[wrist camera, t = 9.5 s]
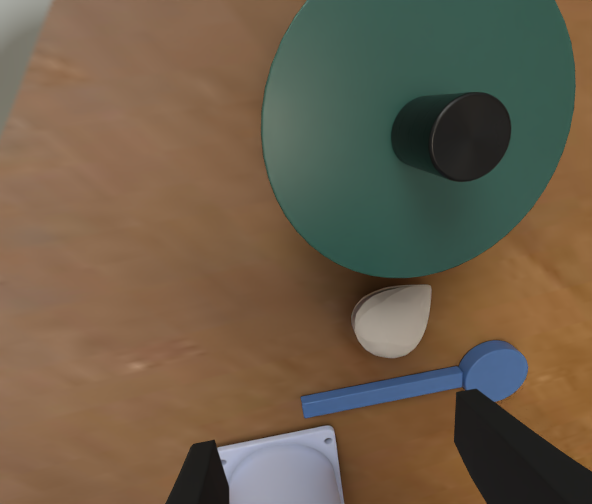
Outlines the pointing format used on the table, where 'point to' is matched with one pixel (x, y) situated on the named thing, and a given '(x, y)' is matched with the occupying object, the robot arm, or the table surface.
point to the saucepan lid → (415, 126)
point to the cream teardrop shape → (392, 319)
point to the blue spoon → (433, 381)
